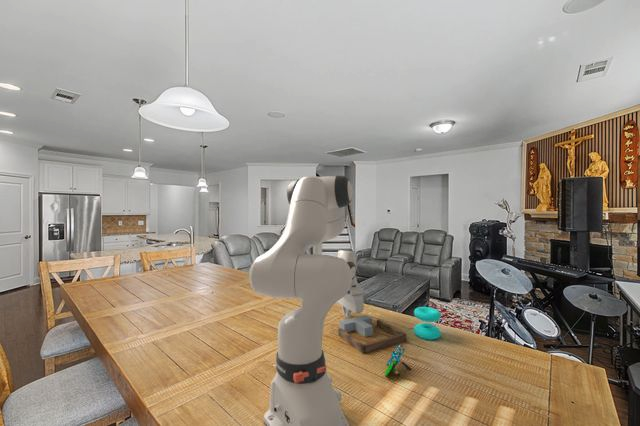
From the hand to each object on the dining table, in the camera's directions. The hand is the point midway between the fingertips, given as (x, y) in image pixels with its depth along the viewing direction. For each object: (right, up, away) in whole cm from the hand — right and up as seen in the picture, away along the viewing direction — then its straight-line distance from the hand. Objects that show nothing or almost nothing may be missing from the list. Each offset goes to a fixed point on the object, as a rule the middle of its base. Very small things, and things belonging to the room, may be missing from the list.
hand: (346, 316), depth 125 cm
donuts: (+31, -3, -13) cm, 34 cm away
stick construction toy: (+12, -3, -38) cm, 40 cm away
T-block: (+5, -2, -9) cm, 11 cm away
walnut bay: (+8, -3, -15) cm, 17 cm away
